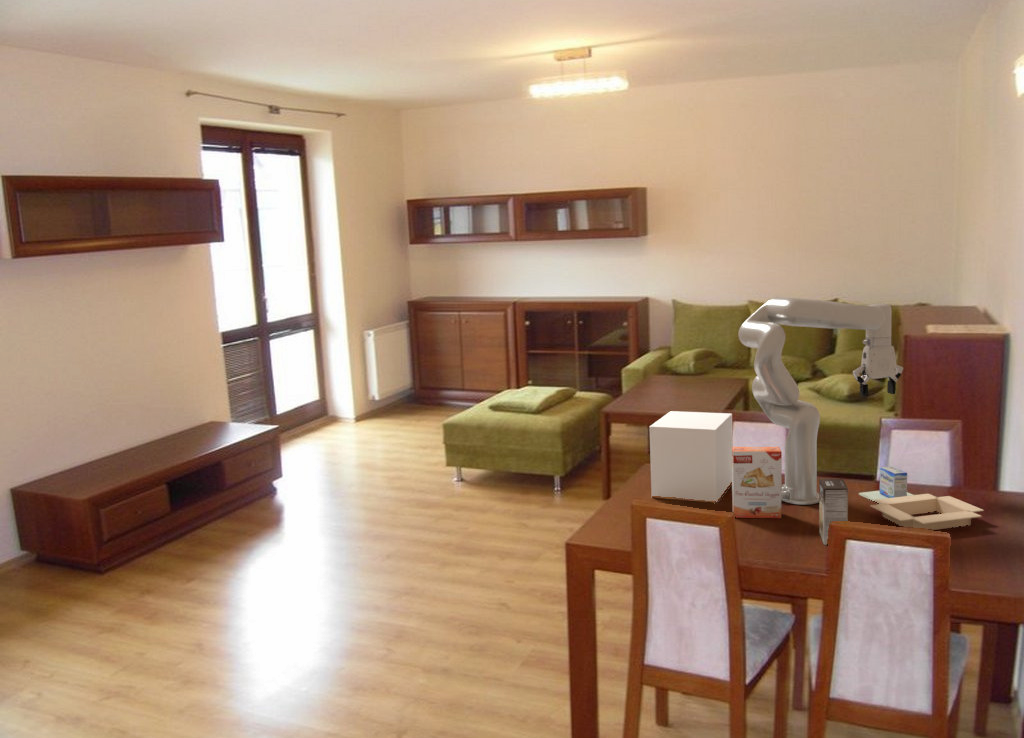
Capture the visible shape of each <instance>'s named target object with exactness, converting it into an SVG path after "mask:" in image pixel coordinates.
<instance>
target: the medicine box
mask: <svg viewBox="0 0 1024 738" xmlns="http://www.w3.org/2000/svg"><path fill="white" fill-rule="evenodd" d="M879 471H880V472H879V490H880V494H881V495H884V496H886V497H888V498H894V497H903V496H907V492H908V472H906V471H903V470H901V469H899V468H896V467H894V466H882V467H880V468H879Z"/></svg>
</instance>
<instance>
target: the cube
mask: <svg viewBox="0 0 1024 738" xmlns="http://www.w3.org/2000/svg"><path fill="white" fill-rule="evenodd" d="M648 427H649V452H650V453H649V458H650V459H649V460H650V489H651V497H652V496H661V497H676V498H683V499H684V498H685V499H694V500H705V501H716V502H717V501H718V499H719V498H720V497H721V495H722V494H723V493H724V491H725V490H726V489H727V487H728V486H729V485H730V483H731V482H732V447H734V446H733V444H734V443H733V413H730V412H728V413H727V412H704V411H703V412H702V411H701V412H700V411H676V410H671V411H668V412H667V413H666V414H664V415H663V416H661V418H659V419H658V420H656V421H655V422H654V423H652V424H651V425H649V426H648ZM718 502H719V501H718Z"/></svg>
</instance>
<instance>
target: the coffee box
mask: <svg viewBox="0 0 1024 738" xmlns="http://www.w3.org/2000/svg"><path fill="white" fill-rule="evenodd" d="M818 485H819V489H818V493H819V506H818V508H819V511H818V513H819V514H818V515H819V517H818V525H819V526H818V529H819V530H818V531H819V535H820V539H821V541H822V543H823V545H825V546H828V545H827V539H828V529H829V524H830V522H832V521H848V519H849V518H848V516H849V513H848V512H849V511H848V510H849V488H848V486H847V484H846V482H845V481H844V479H843V478H819V481H818Z"/></svg>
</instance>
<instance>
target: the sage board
mask: <svg viewBox="0 0 1024 738" xmlns="http://www.w3.org/2000/svg"><path fill="white" fill-rule="evenodd" d="M911 495H914V494H912V493H910V492H908V491H907V496H911ZM858 496H861V497H863V498H866V499H867V500H869V499H870V500H869V501H871V500H872V501H871V502H873V501H874V500H877V499H886V498H888V497H886V496H884V495H881V494H880V489H879V490H873V491H863V492H859V493H858ZM877 503H878V502H877ZM877 503H876V504H877ZM879 504H880V503H879Z"/></svg>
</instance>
